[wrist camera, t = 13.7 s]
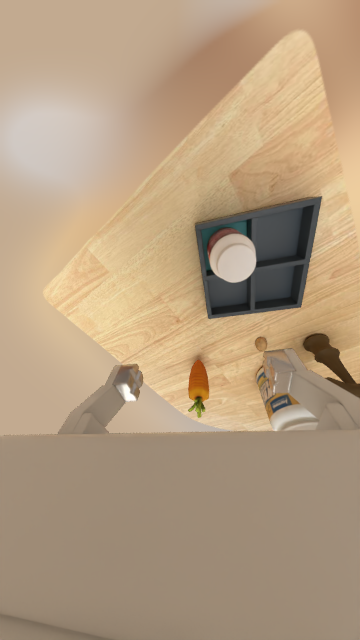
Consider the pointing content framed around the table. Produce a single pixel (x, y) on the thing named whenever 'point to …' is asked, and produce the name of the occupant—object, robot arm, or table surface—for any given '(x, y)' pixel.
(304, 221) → the divided tray
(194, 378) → the carrot
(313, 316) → the table surface
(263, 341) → the potato
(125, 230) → the table surface
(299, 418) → the supplement tub
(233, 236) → the pill bottle
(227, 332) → the table surface
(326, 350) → the kendama
